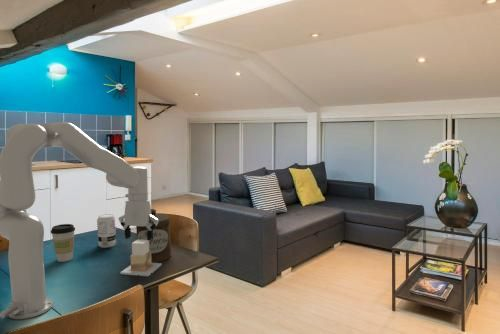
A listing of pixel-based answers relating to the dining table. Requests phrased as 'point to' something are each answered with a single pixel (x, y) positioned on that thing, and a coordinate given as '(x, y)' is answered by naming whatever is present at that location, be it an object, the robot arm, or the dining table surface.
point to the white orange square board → (140, 272)
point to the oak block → (141, 261)
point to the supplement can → (106, 230)
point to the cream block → (140, 247)
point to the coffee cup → (63, 241)
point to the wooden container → (157, 237)
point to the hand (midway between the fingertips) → (138, 238)
